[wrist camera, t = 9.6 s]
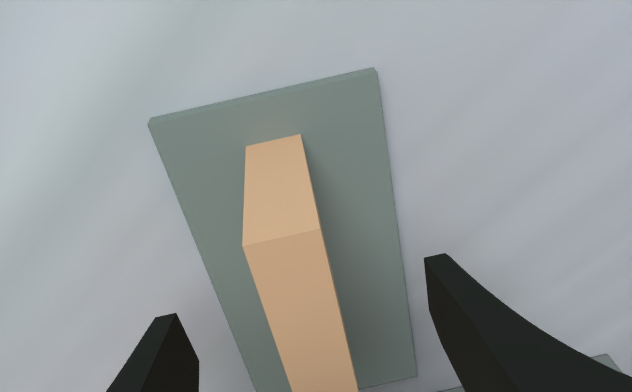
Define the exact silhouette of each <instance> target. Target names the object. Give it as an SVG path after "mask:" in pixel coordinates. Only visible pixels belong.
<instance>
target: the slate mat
mask: <svg viewBox="0 0 632 392" xmlns="http://www.w3.org/2000/svg"><path fill="white" fill-rule="evenodd" d="M147 125H148V128H149V130H150V132H151V135H152V137H153V140H154V142H155V145H156V147H157V150H158V152H159V154H160V157H161V159H162V162H163V164H164V167H165V169H166V172H167V174H168V177H169V179H170V181H171V184H172V186H173V189H174V191H175V194H176V196H177V199H178V201H179V204H180V206H181V208H182V211H183V213H184V216H185V218H186V221H187V223H188V226H189V228H190V230H191V233H192V235H193V238H194V240H195V243H196V245H197V248H198V250H199V253H200V255H201V257H202V260H203V262H204V265H205V267H206V270H207V272H208V275H209V277H210V280H211V282H212V284H213V287H214V289H215V292H216V294H217V297H218V299H219V302H220V304H221V306H222V309H223V311H224V314H225V316H226V319H227V321H228V324H229V326H230V329H231V331H232V333H233V336H234V338H235V341H236V343H237V346H238V348H239V351H240V353H241V356H242V358H243V360H244V363H245V365H246V368H247V370H248V373H249V375H250V378H251V380H252V382H253V385H254V387H255V390H256V392H292V389H291V387H290V384H289V381H288V378H287V375H286V372H285V369H284V366H283V363H282V360H281V357H280V354H279V352H278V349H277V346H276V343H275V340H274V337H273V334H272V331H271V328H270V325H269V322H268V320H267V317H266V314H265V311H264V308H263V305H262V302H261V299H260V296H259V293H258V290H257V288H256V285H255V282H254V279H253V276H252V273H251V270H250V267H249V264H248V261H247V258H246V256H245V253H244V250H243V247H242V238H243V210H244V182H245V154H246V146H250V145H254V144H259V143H263V142H268V141H272V140H276V139H281V138H285V137H290V136H294V135H298V134H301V138H302V143H303V147H304V151H305V156H306V160H307V164H308V169H309V173H310V177H311V182H312V186H313V191H314V195H315V199H316V204H317V208H318V212H319V217H320V221H321V225H322V230H323V234H324V238H325V243H326V247H327V252H328V256H329V260H330V265H331V269H332V273H333V278H334V282H335V286H336V291H337V295H338V299H339V304H340V308H341V313H342V317H343V321H344V326H345V330H346V334H347V339H348V343H349V347H350V352H351V356H352V361H353V365H354V370H355V374H356V379H357V383H358V388H359V389H363V388H367V387H372V386H376V385H380V384H385V383H389V382H394V381H398V380H403V379H407V378H412V377H416V376H417V371H416V364H415V356H414V349H413V341H412V333H411V326H410V318H409V311H408V303H407V295H406V288H405V280H404V273H403V265H402V257H401V250H400V242H399V235H398V227H397V219H396V212H395V204H394V197H393V189H392V181H391V174H390V166H389V159H388V151H387V143H386V136H385V128H384V121H383V113H382V105H381V98H380V90H379V83H378V75H377V71H376V70H375V69H374V68H369V69H364V70H360V71H355V72H351V73H347V74H342V75H338V76H334V77H329V78H325V79H320V80H316V81H312V82H307V83H303V84H299V85H294V86H290V87H285V88H281V89H277V90H272V91H268V92H263V93H259V94H255V95H250V96H246V97H242V98H237V99H233V100H228V101H224V102H220V103H215V104H211V105H207V106H202V107H198V108H193V109H189V110H185V111H180V112H176V113H171V114H167V115H163V116H158V117H154V118H150V120H149V122H148V124H147Z"/></svg>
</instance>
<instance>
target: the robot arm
mask: <svg viewBox="0 0 632 392" xmlns="http://www.w3.org/2000/svg"><path fill="white" fill-rule="evenodd" d="M424 264H425V274H426V284H427V294H428V304H429V311H430V314H431V317H432V319H433V322H434V325H435V328H436V331H437V333H438V336H439V339H440V341H441V344H442V346H443V348H444V350H445V352H446V354H447V356H448V358H449V360H450V362H451V364H452V366H453V368H454V370H455V372H456V374H457V376H458V378H459V380H460V382H461V384H462V386H463V388H464V390H465V392H632V377H630V376H628V375H626V374H623V373H621V372H619V371H616V370H614V369H612V368H610V367H608V366H606V365H604V364H602V363H600V362H598V361H596V360H594V359H592V358H590V357H588V356H586V355H584V354H582V353H580V352H578V351H576V350H574V349H573V348H571V347H569V346H567V345H566V344H564V343H562V342H560V341H559V340H557V339H555V338H554V337H552V336H550V335H549V334H547V333H546V332H544V331H542V330H541V329H539V328H538V327H536V326H535V325H533V324H532V323H530V322H529V321H527V320H526V319H524V318H523V317H522V316H520V315H519V314H517V313H516V312H515V311H513V310H512V309H511V308H509V307H508V306H507V305H505V304H504V303H503V302H501V301H500V300H499V299H498V298H496V297H495V296H494V295H493V294H491V293H490V292H489V291H488V290H486V289H485V288H484V287H483V286H482V285H480V284H479V283H478V282H477V281H476V280H475V279H474V278H472V277H471V276H470V275H469V274H468V273H467V272H466V271H465V270H464V269H462V268H461V267H460V266H459V265H458V264H457V263H456V262H455V261H454V260H453V259H452V258H451V257H450V256H449V255H447V254H446V253H444V254H439V255H435V256H430V257H426V258H424ZM106 392H199V360H198V357H197V355H196V353H195V351H194V349H193V347H192V345H191V343H190V341H189V339H188V337H187V335H186V332H185V330H184V328H183V326H182V324H181V322H180V320H179V318H178V316H177V314H176V313H173V314H169V315H164V316H160V317H155V319H154V320H153V322H152V323H151V325H150V326H149V328H148V329H147V331H146V332H145V334H144V336H143V337H142V339H141V340H140V342H139V343H138V345H137V346H136V348H135V350H134V351H133V353H132V354H131V356H130V357H129V359H128V360H127V362H126V363H125V365H124V366H123V368H122V369H121V371H120V372H119V374H118V375H117V377H116V378H115V380H114V381H113V383H112V384H111V385H110V387H109V388H108V389H107V391H106Z"/></svg>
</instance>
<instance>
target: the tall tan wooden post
mask: <svg viewBox="0 0 632 392" xmlns="http://www.w3.org/2000/svg"><path fill="white" fill-rule="evenodd" d="M242 247H243V250H244V253H245V256H246V258H247V261H248V264H249V267H250V270H251V273H252V276H253V279H254V282H255V285H256V288H257V290H258V293H259V296H260V299H261V302H262V305H263V308H264V311H265V314H266V317H267V320H268V322H269V325H270V328H271V331H272V334H273V337H274V340H275V343H276V346H277V349H278V352H279V354H280V357H281V360H282V363H283V366H284V369H285V372H286V375H287V378H288V381H289V384H290V387H291V389H292V392H359V388H358V383H357V379H356V374H355V370H354V365H353V361H352V356H351V352H350V347H349V343H348V339H347V334H346V330H345V326H344V321H343V317H342V313H341V308H340V304H339V299H338V295H337V291H336V286H335V282H334V278H333V273H332V269H331V265H330V260H329V256H328V252H327V247H326V243H325V238H324V234H323V230H322V225H321V221H320V217H319V212H318V208H317V204H316V199H315V195H314V191H313V186H312V182H311V177H310V173H309V169H308V164H307V160H306V156H305V151H304V147H303V143H302V138H301V134H298V135H294V136H290V137H285V138H281V139H276V140H272V141H268V142H263V143H259V144H254V145H250V146H246V154H245V182H244V210H243V238H242Z"/></svg>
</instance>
